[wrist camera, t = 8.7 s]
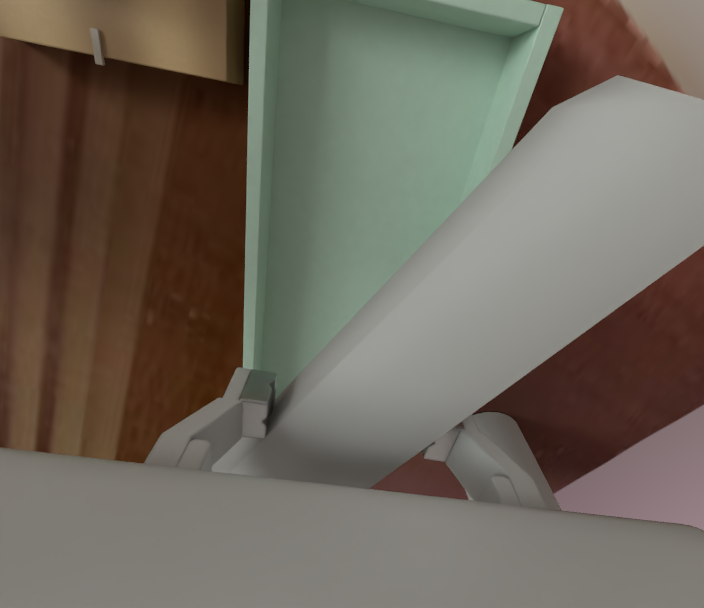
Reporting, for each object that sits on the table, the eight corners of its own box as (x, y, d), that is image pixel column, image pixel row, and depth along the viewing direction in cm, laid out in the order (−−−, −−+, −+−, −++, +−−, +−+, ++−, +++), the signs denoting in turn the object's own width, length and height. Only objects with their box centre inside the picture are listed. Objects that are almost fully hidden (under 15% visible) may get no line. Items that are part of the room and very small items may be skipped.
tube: (680, -43, 6) (116, 560, 15) (922, 183, 6) (205, 642, 15) (571, 72, 10) (198, 471, 20) (699, 190, 10) (265, 533, 20)
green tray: (252, 396, 31) (241, 428, 28) (270, -34, 17) (251, -67, 14) (396, 415, 33) (401, 447, 29) (528, 25, 18) (564, 7, 15)
